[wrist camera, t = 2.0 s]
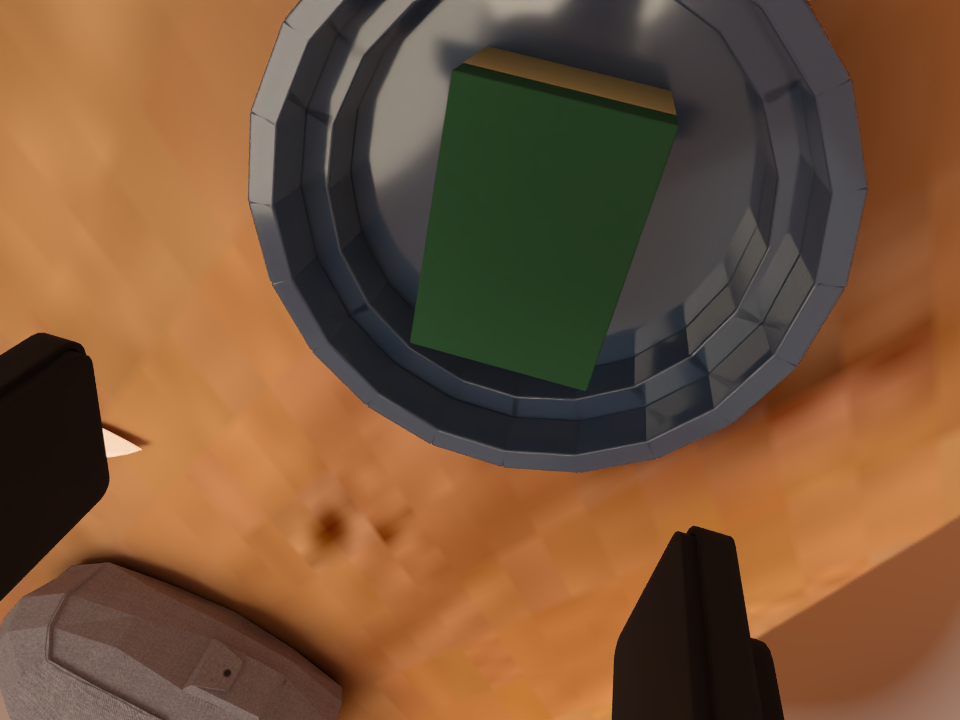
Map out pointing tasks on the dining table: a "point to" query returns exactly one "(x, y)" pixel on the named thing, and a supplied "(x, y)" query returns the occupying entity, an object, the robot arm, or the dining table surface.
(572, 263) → the sponge
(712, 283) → the bowl
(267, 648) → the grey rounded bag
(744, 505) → the dining table surface
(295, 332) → the dining table surface
